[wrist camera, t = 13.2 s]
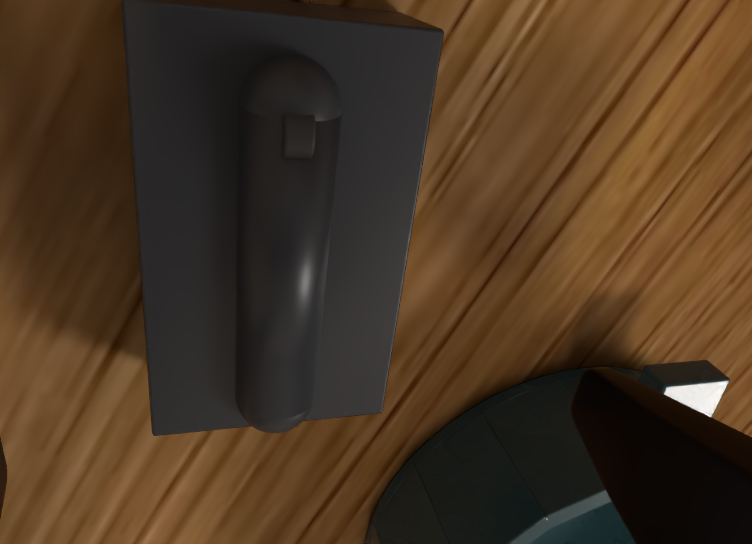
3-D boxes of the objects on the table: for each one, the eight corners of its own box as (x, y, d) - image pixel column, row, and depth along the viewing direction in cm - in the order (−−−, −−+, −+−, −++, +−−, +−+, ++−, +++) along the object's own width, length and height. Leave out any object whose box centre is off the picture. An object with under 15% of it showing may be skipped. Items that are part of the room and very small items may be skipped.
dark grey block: (155, 368, 17) (150, 474, 14) (131, -17, 13) (113, 5, 9) (357, 354, 19) (395, 445, 16) (402, 12, 14) (470, 39, 11)
